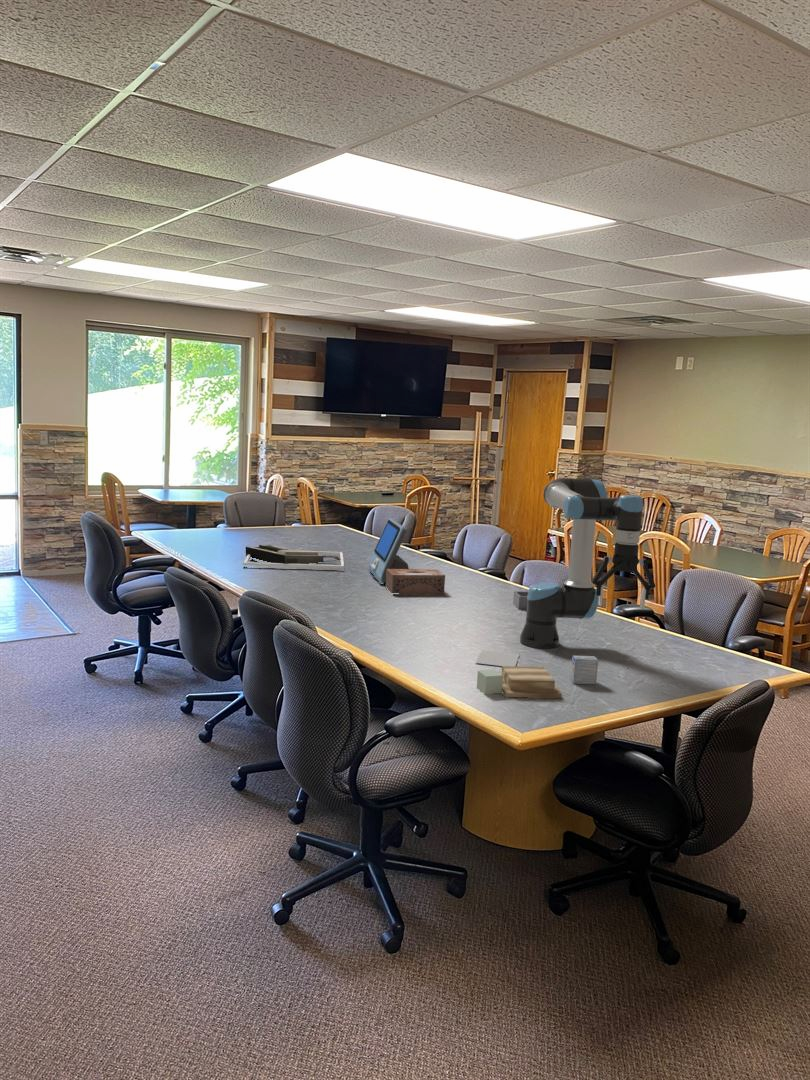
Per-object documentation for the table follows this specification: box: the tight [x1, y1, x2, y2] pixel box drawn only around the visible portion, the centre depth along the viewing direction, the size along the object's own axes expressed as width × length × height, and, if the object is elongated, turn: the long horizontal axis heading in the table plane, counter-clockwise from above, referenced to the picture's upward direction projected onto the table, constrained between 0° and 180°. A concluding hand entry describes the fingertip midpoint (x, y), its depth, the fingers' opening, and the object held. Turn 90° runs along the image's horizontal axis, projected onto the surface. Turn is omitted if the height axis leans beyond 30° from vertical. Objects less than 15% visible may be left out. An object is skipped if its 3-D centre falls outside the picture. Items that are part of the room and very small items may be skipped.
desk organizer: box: [512, 590, 528, 611], centre depth 380 cm, size 11×21×6 cm, turn 95°
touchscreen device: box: [368, 517, 410, 585], centre depth 426 cm, size 35×20×30 cm, turn 12°
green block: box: [476, 669, 503, 695], centre depth 262 cm, size 6×6×6 cm
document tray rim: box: [243, 550, 345, 570], centre depth 457 cm, size 42×53×3 cm
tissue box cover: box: [385, 568, 446, 596], centre depth 399 cm, size 26×14×10 cm, turn 103°
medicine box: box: [569, 655, 599, 685], centre depth 275 cm, size 8×4×9 cm, turn 92°
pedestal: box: [501, 666, 563, 699], centre depth 266 cm, size 18×18×5 cm
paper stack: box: [475, 649, 520, 667], centre depth 291 cm, size 23×25×1 cm
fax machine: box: [245, 544, 341, 564], centre depth 457 cm, size 45×34×10 cm
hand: (621, 607), depth 269 cm, fingers open, 13 cm apart
